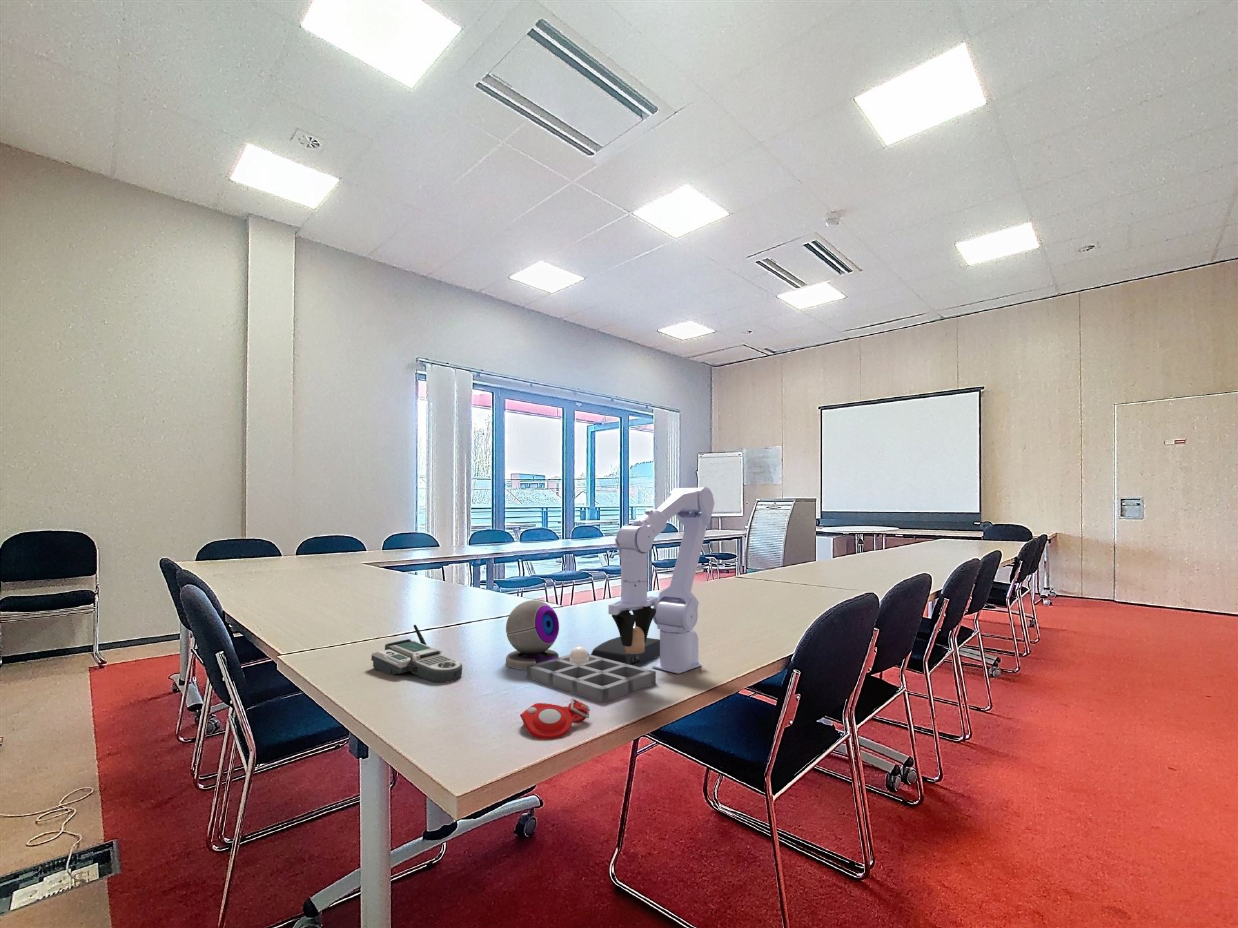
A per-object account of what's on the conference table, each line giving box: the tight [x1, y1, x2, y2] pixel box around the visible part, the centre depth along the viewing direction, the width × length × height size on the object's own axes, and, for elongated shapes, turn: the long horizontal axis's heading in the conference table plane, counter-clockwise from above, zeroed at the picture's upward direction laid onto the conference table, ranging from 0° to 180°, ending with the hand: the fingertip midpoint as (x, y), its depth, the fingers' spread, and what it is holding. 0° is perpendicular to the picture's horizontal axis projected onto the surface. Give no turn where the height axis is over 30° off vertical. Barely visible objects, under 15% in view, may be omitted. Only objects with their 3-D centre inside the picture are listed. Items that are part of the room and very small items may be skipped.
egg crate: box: [526, 653, 657, 704], centre depth 128 cm, size 24×16×2 cm
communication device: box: [370, 624, 463, 683], centre depth 135 cm, size 12×24×9 cm, turn 53°
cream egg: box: [569, 646, 589, 664], centre depth 136 cm, size 4×4×5 cm
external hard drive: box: [590, 636, 660, 667], centre depth 147 cm, size 13×19×4 cm
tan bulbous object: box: [624, 625, 645, 654], centre depth 126 cm, size 4×4×5 cm
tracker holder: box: [519, 697, 591, 740], centre depth 103 cm, size 12×4×10 cm
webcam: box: [505, 599, 560, 671], centre depth 143 cm, size 13×13×15 cm
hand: (634, 643), depth 126 cm, fingers closed on tan bulbous object, 4 cm apart
